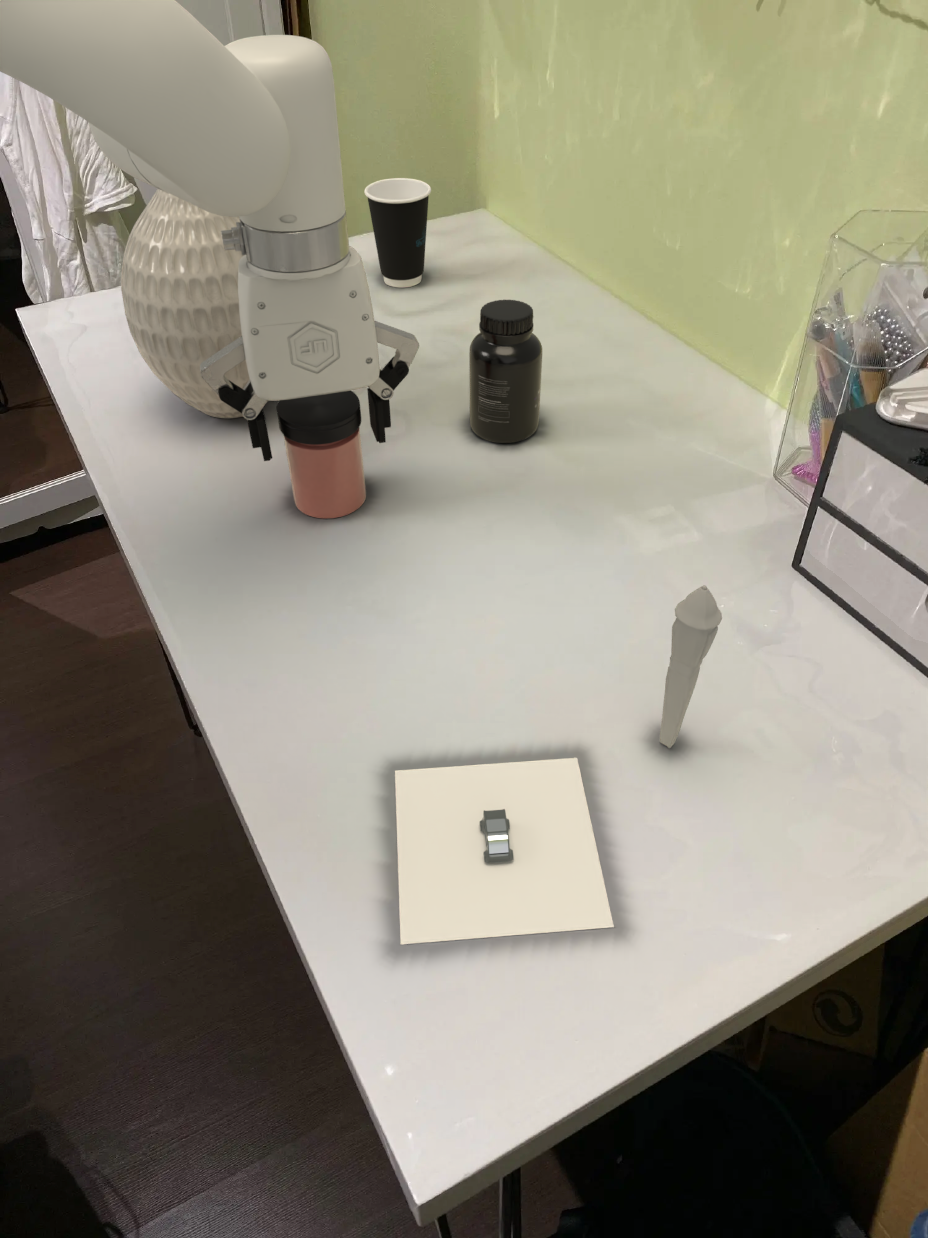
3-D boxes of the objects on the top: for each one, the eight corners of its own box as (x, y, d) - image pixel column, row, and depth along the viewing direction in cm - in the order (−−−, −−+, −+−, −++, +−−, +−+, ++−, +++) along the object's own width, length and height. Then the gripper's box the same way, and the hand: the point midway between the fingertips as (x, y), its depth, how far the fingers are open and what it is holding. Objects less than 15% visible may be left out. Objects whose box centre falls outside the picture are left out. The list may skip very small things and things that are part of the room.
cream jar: (298, 523, 78) (284, 439, 73) (290, 482, 83) (277, 400, 77) (371, 512, 79) (363, 429, 74) (360, 472, 84) (351, 390, 78)
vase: (289, 352, 101) (256, 134, 86) (332, 422, 90) (303, 186, 75) (141, 381, 97) (78, 156, 81) (168, 459, 86) (102, 216, 71)
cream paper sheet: (400, 944, 50) (398, 931, 49) (394, 770, 59) (393, 756, 58) (613, 927, 51) (616, 913, 50) (577, 757, 60) (578, 743, 59)
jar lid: (261, 427, 75) (257, 409, 74) (317, 393, 79) (315, 375, 78) (323, 454, 72) (320, 435, 71) (378, 417, 76) (376, 399, 75)
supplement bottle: (552, 431, 89) (560, 313, 81) (496, 453, 86) (498, 334, 78) (511, 402, 93) (514, 287, 85) (456, 422, 90) (454, 305, 82)
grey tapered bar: (660, 722, 62) (694, 564, 52) (695, 742, 61) (737, 584, 51) (640, 744, 60) (672, 587, 51) (676, 765, 59) (715, 607, 50)
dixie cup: (363, 272, 117) (356, 182, 109) (421, 263, 119) (417, 173, 111) (382, 296, 112) (376, 203, 104) (443, 286, 114) (440, 194, 106)
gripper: (176, 273, 61) (224, 484, 73) (424, 245, 65) (432, 450, 76) (171, 233, 67) (216, 436, 78) (401, 209, 70) (411, 406, 82)
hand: (322, 443), depth 77 cm, fingers open, 9 cm apart
